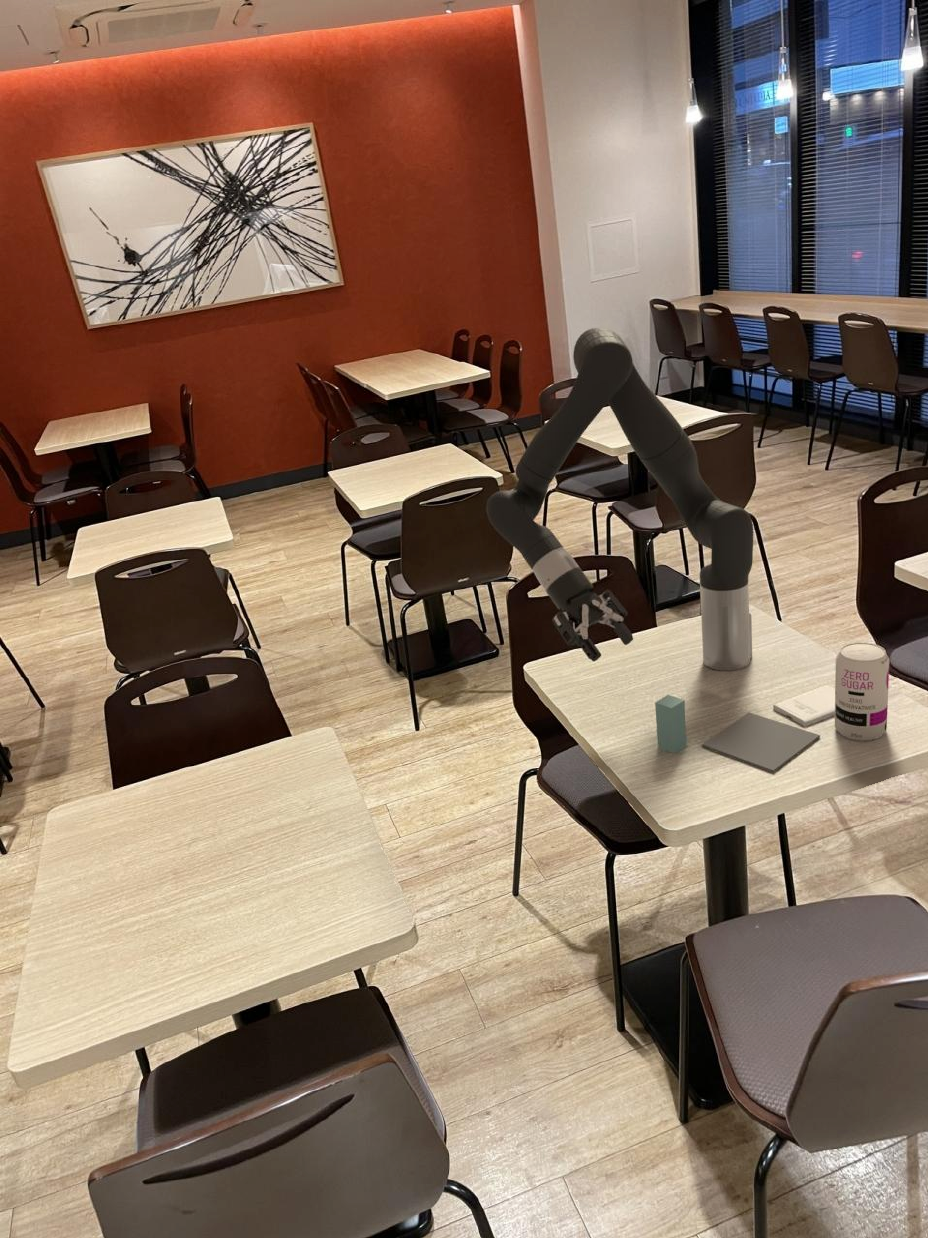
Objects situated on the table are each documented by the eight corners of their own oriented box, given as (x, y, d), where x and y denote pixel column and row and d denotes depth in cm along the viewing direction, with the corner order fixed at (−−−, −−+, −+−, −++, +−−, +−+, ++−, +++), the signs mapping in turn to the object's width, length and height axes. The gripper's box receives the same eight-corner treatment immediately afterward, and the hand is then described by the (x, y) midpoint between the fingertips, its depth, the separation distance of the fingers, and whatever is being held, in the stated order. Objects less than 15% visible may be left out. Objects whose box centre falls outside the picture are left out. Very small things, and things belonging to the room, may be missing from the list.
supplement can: (877, 717, 164) (880, 639, 159) (893, 741, 157) (896, 659, 151) (829, 720, 165) (830, 643, 160) (842, 744, 158) (843, 663, 152)
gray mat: (748, 714, 171) (748, 712, 171) (819, 737, 160) (820, 735, 160) (701, 746, 163) (701, 744, 163) (773, 772, 153) (773, 770, 152)
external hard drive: (859, 708, 169) (805, 729, 165) (826, 691, 176) (773, 711, 172) (859, 700, 168) (805, 720, 164) (826, 683, 175) (772, 703, 171)
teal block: (670, 739, 166) (667, 694, 163) (686, 745, 164) (684, 700, 160) (658, 747, 164) (655, 702, 161) (674, 754, 162) (671, 708, 159)
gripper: (543, 579, 164) (597, 654, 160) (598, 555, 172) (650, 626, 168) (525, 601, 170) (576, 674, 166) (579, 577, 178) (629, 646, 174)
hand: (614, 650), depth 167 cm, fingers open, 8 cm apart
